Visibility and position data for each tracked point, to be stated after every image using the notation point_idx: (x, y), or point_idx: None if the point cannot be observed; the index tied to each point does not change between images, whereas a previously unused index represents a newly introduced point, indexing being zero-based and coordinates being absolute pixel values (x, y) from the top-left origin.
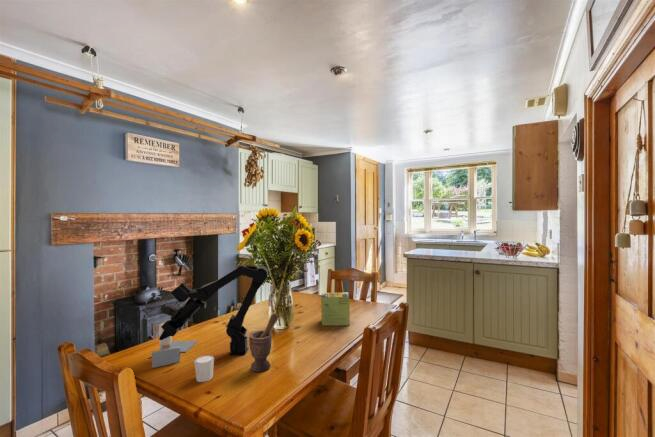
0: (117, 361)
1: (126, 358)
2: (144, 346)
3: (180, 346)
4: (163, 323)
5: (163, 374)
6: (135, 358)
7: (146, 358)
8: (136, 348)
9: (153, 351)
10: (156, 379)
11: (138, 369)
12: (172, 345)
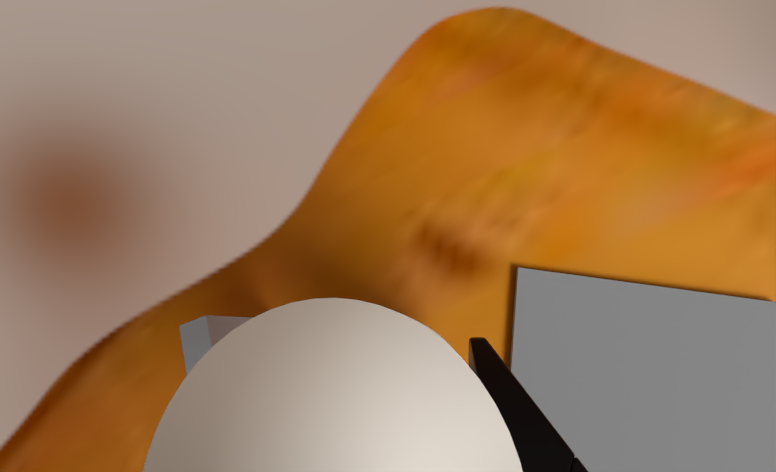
0: (404, 68)
1: (441, 94)
2: (651, 104)
3: (636, 431)
4: (442, 389)
5: (137, 448)
6: (432, 147)
7: (421, 219)
8: (610, 69)
9: (208, 328)
10: (87, 423)
11: (261, 244)
12: (662, 336)
